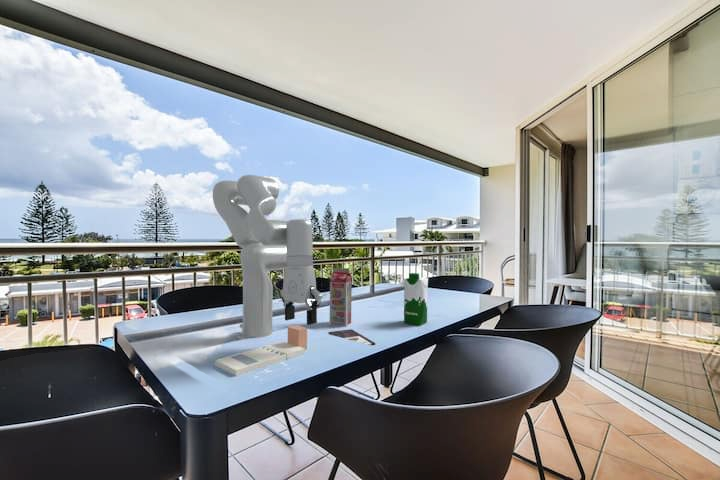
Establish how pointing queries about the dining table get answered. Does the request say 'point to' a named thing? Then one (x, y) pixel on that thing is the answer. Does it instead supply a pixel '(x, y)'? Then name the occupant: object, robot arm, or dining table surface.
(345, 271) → the juice carton
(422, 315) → the milk carton
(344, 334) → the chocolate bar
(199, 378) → the dining table surface
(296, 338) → the stub
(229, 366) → the cream flat block
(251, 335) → the robot arm
